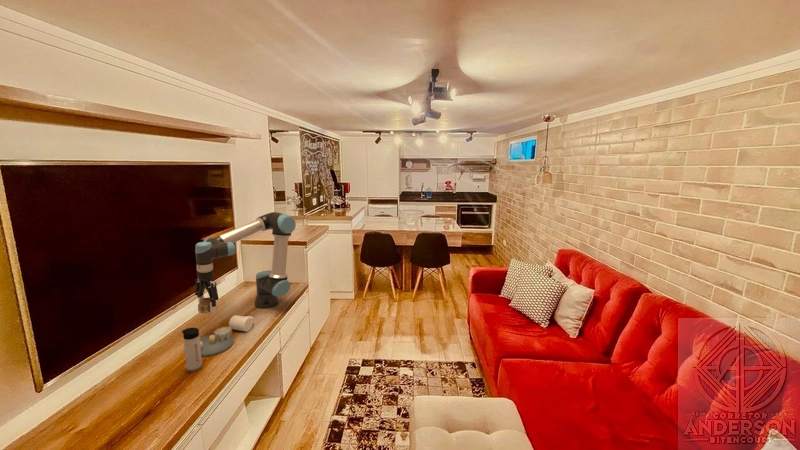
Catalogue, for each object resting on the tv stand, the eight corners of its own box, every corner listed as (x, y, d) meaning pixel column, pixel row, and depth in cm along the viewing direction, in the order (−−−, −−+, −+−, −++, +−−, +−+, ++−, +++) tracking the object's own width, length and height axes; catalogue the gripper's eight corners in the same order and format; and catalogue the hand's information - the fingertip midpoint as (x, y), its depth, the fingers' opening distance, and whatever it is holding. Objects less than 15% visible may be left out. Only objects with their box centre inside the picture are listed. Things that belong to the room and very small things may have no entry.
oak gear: (209, 305, 183) (208, 294, 181) (219, 309, 179) (219, 298, 178) (195, 311, 175) (194, 300, 174) (205, 315, 172) (204, 303, 171)
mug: (244, 334, 184) (243, 321, 182) (229, 331, 186) (228, 319, 184) (257, 324, 195) (256, 312, 194) (243, 321, 197) (242, 309, 196)
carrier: (217, 331, 185) (216, 321, 184) (243, 340, 178) (242, 330, 177) (181, 350, 166) (180, 339, 165) (208, 360, 159) (207, 349, 158)
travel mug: (187, 365, 155) (183, 327, 151) (203, 362, 158) (199, 325, 154) (184, 373, 150) (180, 334, 146) (200, 370, 152) (197, 331, 148)
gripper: (185, 269, 174) (188, 307, 178) (212, 276, 165) (214, 317, 170) (198, 265, 180) (201, 302, 185) (225, 272, 172) (227, 311, 176)
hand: (207, 309), depth 177 cm, fingers closed on oak gear, 8 cm apart
